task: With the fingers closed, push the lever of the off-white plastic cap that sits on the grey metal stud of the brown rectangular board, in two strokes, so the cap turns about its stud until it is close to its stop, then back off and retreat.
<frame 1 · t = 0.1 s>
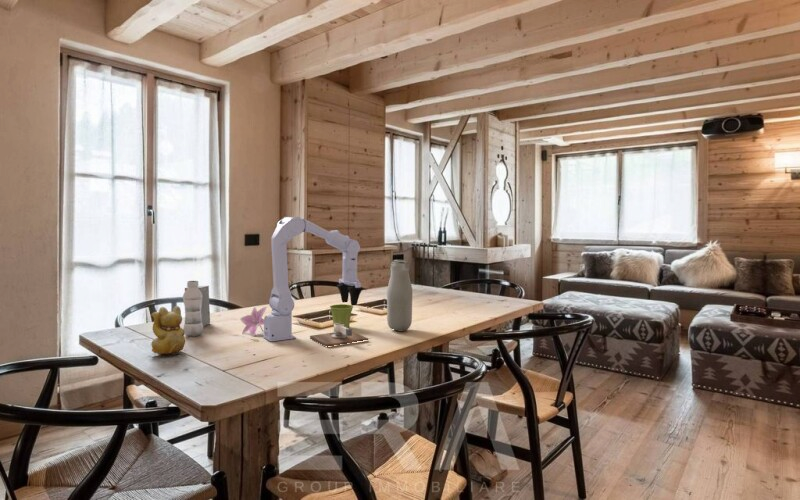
hand: (349, 303, 183), 10 cm above the table, tool pointing down, fingers open, 7 cm apart
plastic bottle: (193, 336, 169), on the table
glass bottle: (399, 331, 182), on the table
plant pot: (341, 328, 186), on the table
skincare box: (197, 325, 186), on the table
cap: (343, 329, 163), point 5 cm above the table, hinge at 0.0°
decorative figurine: (170, 355, 145), on the table
brown rectangular board: (338, 340, 166), on the table
lily: (254, 333, 175), on the table
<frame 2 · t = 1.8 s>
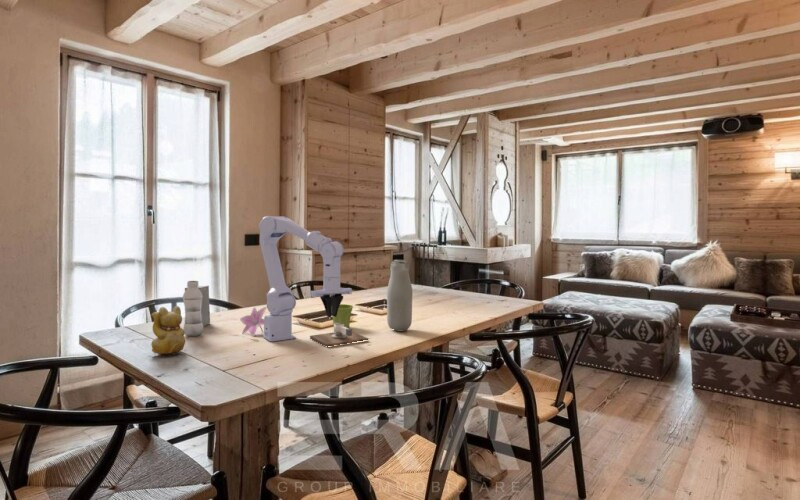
hand: (331, 316, 159), 10 cm above the table, tool pointing down, fingers closed
nothing on the table moved.
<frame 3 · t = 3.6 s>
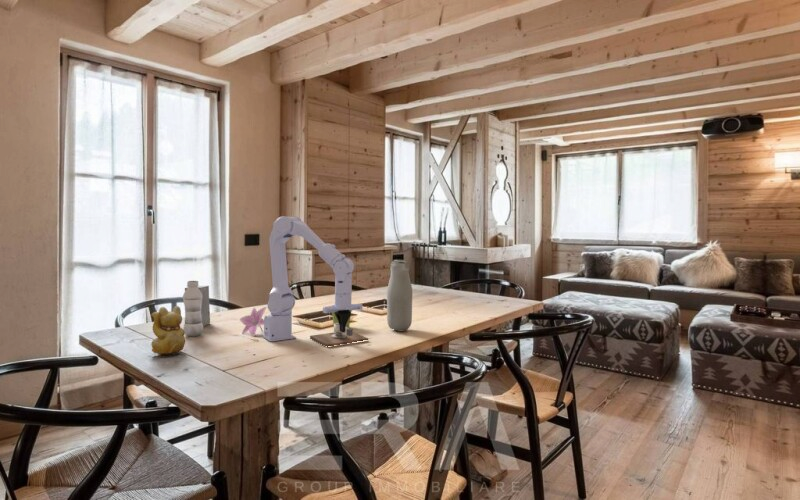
hand: (342, 331, 162), 4 cm above the table, tool pointing down, fingers closed, pressing on cap
cap: (343, 329, 163), point 5 cm above the table, hinge at 2.2°, touching gripper
everything else where it was.
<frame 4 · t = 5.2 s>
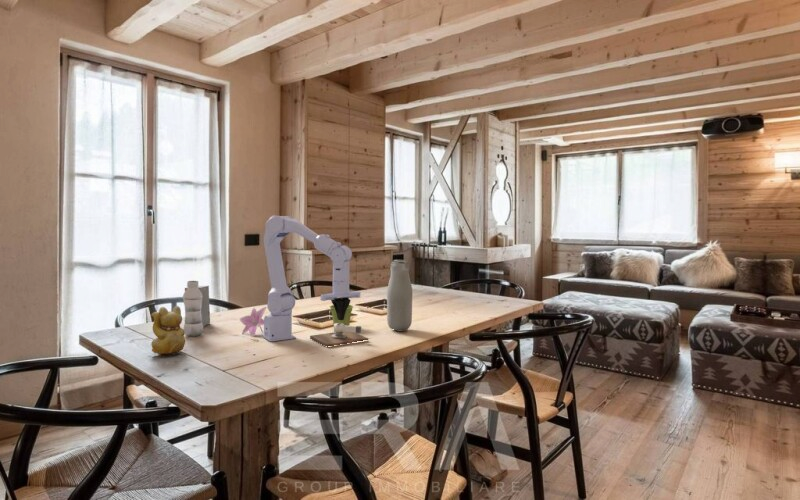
hand: (340, 319, 161), 8 cm above the table, tool pointing down, fingers closed
cap: (347, 327, 165), point 5 cm above the table, hinge at 41.9°
everything else where it was.
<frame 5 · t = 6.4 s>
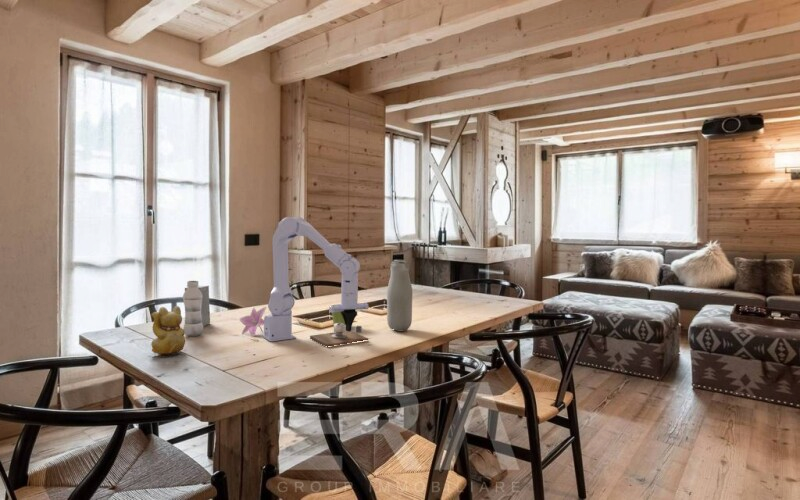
hand: (348, 330, 164), 4 cm above the table, tool pointing down, fingers closed, pressing on cap
cap: (347, 327, 165), point 5 cm above the table, hinge at 46.4°, touching gripper
everything else where it was.
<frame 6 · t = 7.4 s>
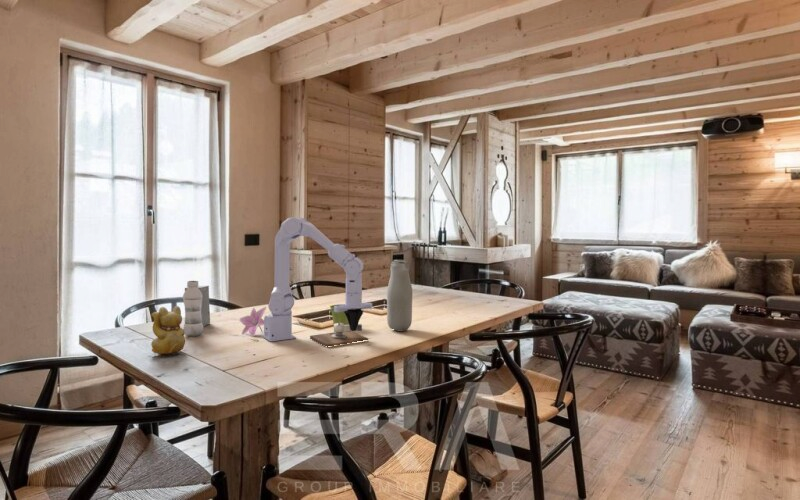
hand: (353, 330, 165), 4 cm above the table, tool pointing down, fingers closed
cap: (347, 327, 166), point 5 cm above the table, hinge at 66.0°, touching gripper
everything else where it was.
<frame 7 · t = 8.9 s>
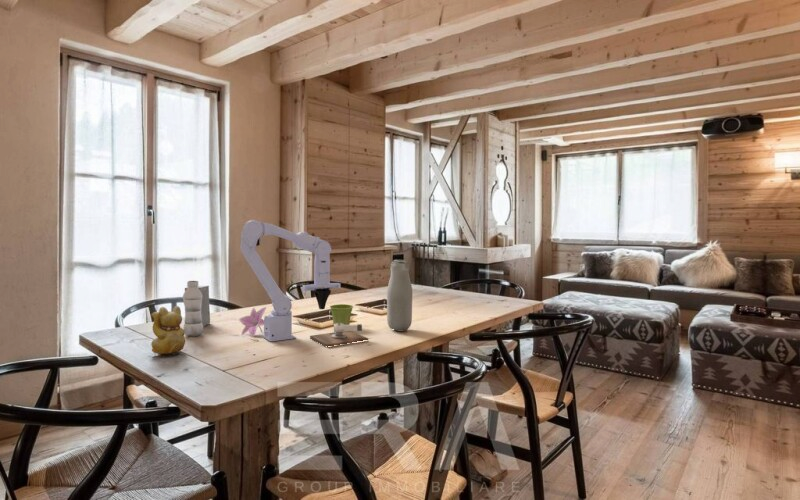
hand: (321, 308, 172), 10 cm above the table, tool pointing down, fingers closed
cap: (347, 327, 166), point 5 cm above the table, hinge at 65.8°
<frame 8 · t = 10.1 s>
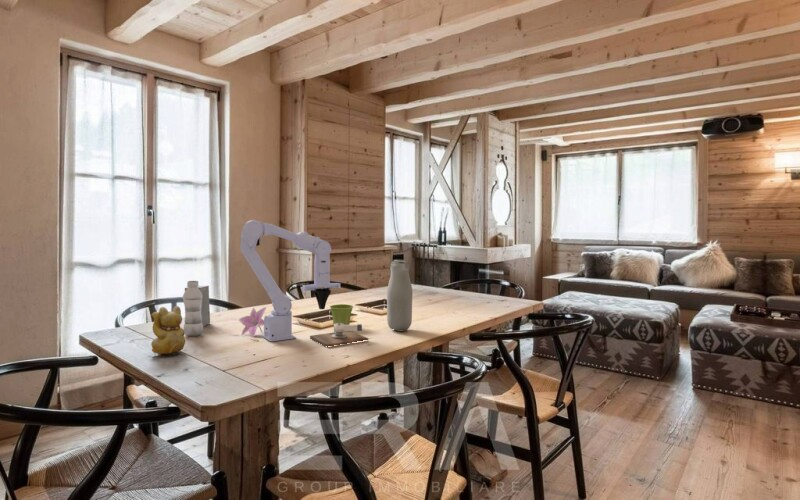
hand: (321, 308, 172), 10 cm above the table, tool pointing down, fingers closed
at the end: cap at +66° (first picture: +0°); the gripper is holding nothing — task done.
